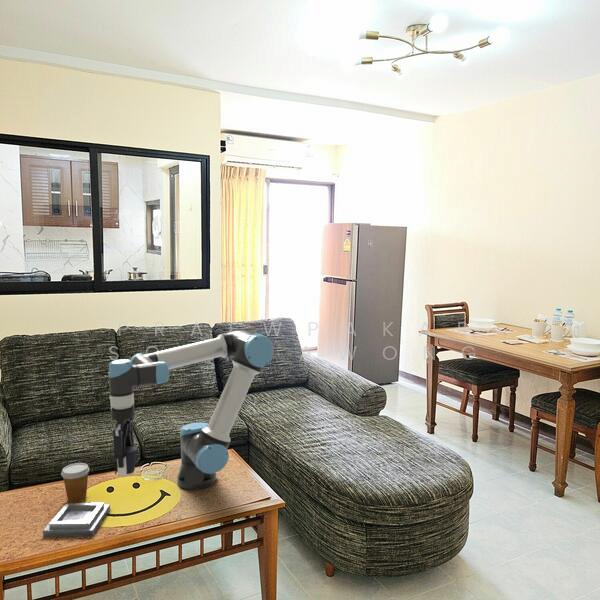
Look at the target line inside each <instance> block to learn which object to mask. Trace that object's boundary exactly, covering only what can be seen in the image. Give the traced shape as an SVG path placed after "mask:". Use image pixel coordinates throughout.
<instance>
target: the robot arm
mask: <svg viewBox="0 0 600 600" xmlns="http://www.w3.org/2000/svg"><path fill="white" fill-rule="evenodd" d="M273 357H274V346H273V343H272V341H271V340H270V338H268V337H267V336H266V335H264V334H262V333H259V332H255V331H253V330H251V329H244V328H243V329H242V328H241V329H237V330H234V331H233V330H231V331H229V332H225V333H220V334H218V335H217V337H215V338H210V339H205V340H201V341H197V342H193V343H189V344H185V345H180V346H176V347H171V348H168V349H164V350H160V351H159V350H158V351H155V352H151V353H140V352H139V353H136V354H134V355H133V356H132V357H130V359H125V358H124V359H123V358H122V359H115V360H111V361H110V362H109V364H108V382H109V383H108V386H109V397H108V399H109V401H110V418H111V419H112V420H114V421H116V423H115V429H113V430H112V436H113V453H114V454H113V455H114V457H113V459H115V460H116V461H117V466H118V472H117V476H118V477H127V476H128V474H127V468H126V457H125V446H126V445H130V446H134V447H136V446H135V445H136V444H134V443H135V439H134V438H135V437H134V425H133V423H134V422H133V421H134V416H135V405H134V404H135V397H134V396H135V395H134V394H135V393H134V388H137V387H144V386H152V385H159V384H164V383H167V382H168V381H169V379H170V370H173V369H177V368H181V367H185V366H188V365H189V366H190V365H192V364H193V365H194V364H196V363H200V362H204V361H205V362H206V361H207V360H208V361H209V360H212V359H216V358H223V359H228V358H232V359H231V362H232V365H233V367H232V370H231V372H230V374H229V377H228V378H227V381H226V384H225V386H224V388H223V390H222V393H221V395H220V397H219V400H218V402H217V404H216V406H215V408H214V411H213V414H212V415H211V418H210V420H209V423H208V422H193V423H188V424H185V425H183V426H181V428H180V430H179V431H180V435H179V437H180V457H181V458H180V462H181V464H180V465H179V471H178V473H177V477H176V478H177V480H176V481H177V485H178V486H179V487H180V488H182V489H185V490H193V491H194V490H195V491H196V490H202V489H207V488H208V487H211V486H212V485H214V484H215V482H216V481H217V473H218V472H219V471H222V470H223V469H224V468H225V466H226V465H227V464H228V462H229V455H230V453H229V450H228V448H229V446H230V444H231V441H232V440H231V437H230V434H231V430H232V428H233V426H234V424H235V422H236V419H237V417H238V414H239V413H240V410H241V408H242V406H243V404H244V401H245V399H246V396H247V393H248V391H249V389H250V387H251V384H252V382H253V380H254V377H255V376H256V375H259V374H261V372H262V369H263V367H265V366H267V365H268V364H270V363H271V361H272V360H273Z"/></svg>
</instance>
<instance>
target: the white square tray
mask: <svg viewBox="0 0 600 600" xmlns="http://www.w3.org/2000/svg"><path fill="white" fill-rule="evenodd" d="M110 510H111V505H110V504H109V503H107V504H105V502H77V503H70V502H66V504H64V505H63V506H62V507H61V509H60V510H59V511H58V512H57V513H56V515H55V516H54V517H53V518H52V519H51V520H50V521H49V523H48V524H47V525H46V526H45V528H44V529H43V530H42V535H43V537H87V536H88V537H93V536H94V535H95V533H96V532H97V530H98V529H99V527H100V526H101V524H102V523H103V521H104V520H105V518H106V516H107V515H108V514H109V512H110Z"/></svg>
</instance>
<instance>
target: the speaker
mask: <svg viewBox="0 0 600 600" xmlns="http://www.w3.org/2000/svg"><path fill="white" fill-rule="evenodd" d="M137 450H138V448H137V447H136V446H130V445H126V446H125V457H126V468H127V475H129V474H130V475H131V474H133V473H134V472H135V470H136V469H135V468H136V460H137V452H138V451H137ZM117 474H118V466H117V460H116V462H115V471H114V475H117Z"/></svg>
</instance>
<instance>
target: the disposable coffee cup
mask: <svg viewBox="0 0 600 600" xmlns="http://www.w3.org/2000/svg"><path fill="white" fill-rule="evenodd" d="M89 471H90V467H89V466H88V464H87V463H84V462H76V463H70V464H68V465H66V466H64V467H63V468H62V471H61V473H60V475H61V477H62V478H63V483H64V489H65V492H66V498H67V503H82V501H84V499H85V498H86V499H87V492H88V491H87V490H88V479H89V478H88V477H89ZM86 499H85V500H86Z"/></svg>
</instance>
